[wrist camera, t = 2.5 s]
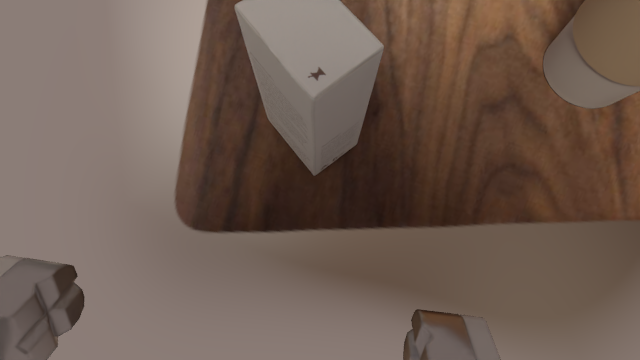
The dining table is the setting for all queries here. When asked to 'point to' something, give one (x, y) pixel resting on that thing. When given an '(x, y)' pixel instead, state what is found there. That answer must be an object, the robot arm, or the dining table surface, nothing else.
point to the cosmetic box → (311, 72)
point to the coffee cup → (597, 54)
